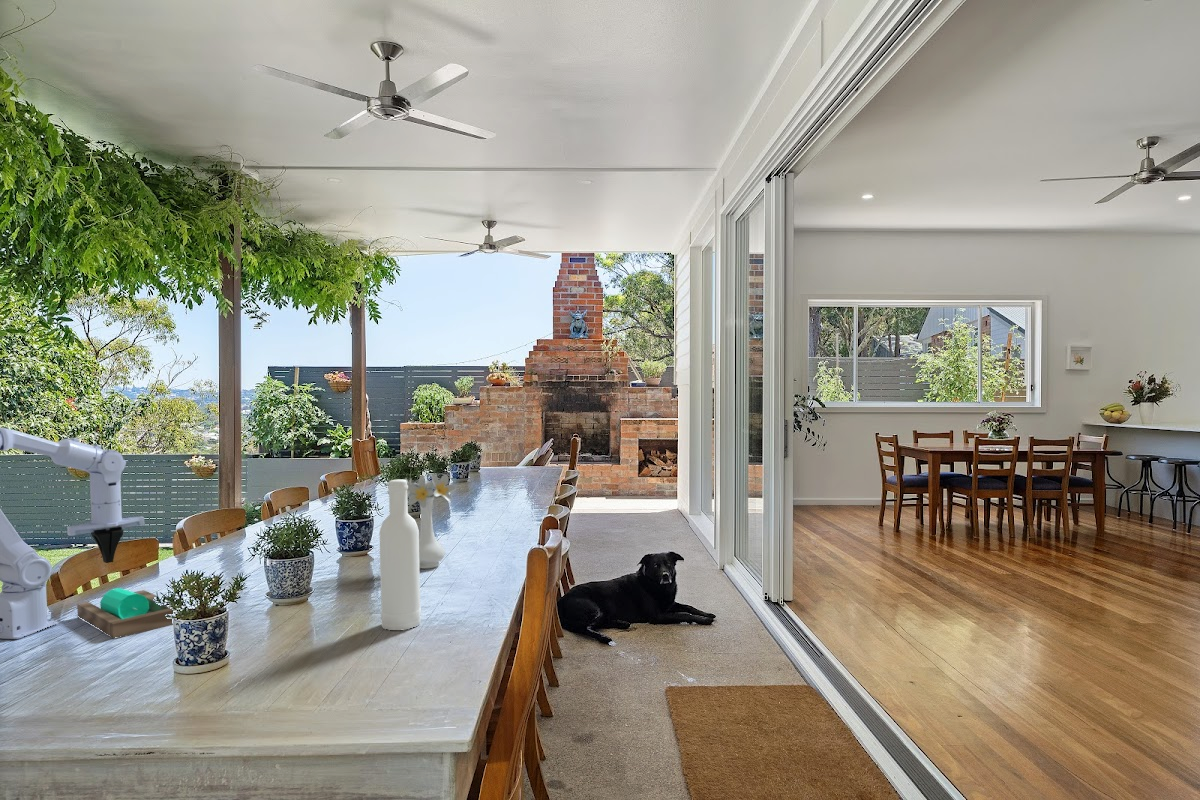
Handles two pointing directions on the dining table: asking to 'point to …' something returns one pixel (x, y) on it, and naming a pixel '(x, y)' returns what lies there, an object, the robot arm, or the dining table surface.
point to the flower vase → (428, 516)
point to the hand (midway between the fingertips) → (108, 561)
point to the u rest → (127, 625)
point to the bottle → (399, 563)
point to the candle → (124, 603)
